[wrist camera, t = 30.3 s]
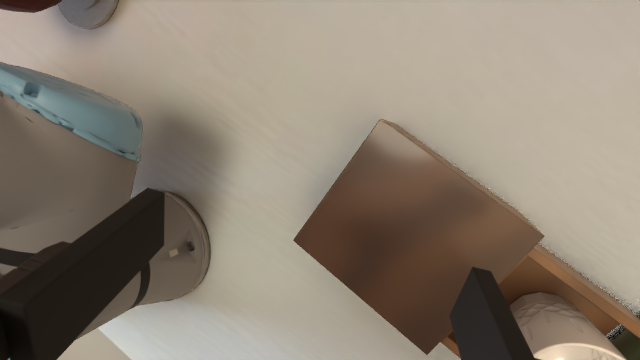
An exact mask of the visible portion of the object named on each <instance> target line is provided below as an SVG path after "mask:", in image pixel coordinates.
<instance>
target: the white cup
mask: <svg viewBox="0 0 640 360" xmlns="http://www.w3.org/2000/svg"><path fill="white" fill-rule="evenodd" d="M509 308H510V310H511V312H512V314H513V316H514V318H515V320H516V322H517V324H518V326H519V328H520V330H521V332H522V334H523V336H524V338H525V340H526V342H527V344H528V346H529V348H530V350H531V352H532V354H533V356H534V358H537V359H541V360H627V359H626V358H625V357H624V356H623V354H622V353H621V352H620V351H619V350H618V349H617V348H616V347H615V346H614V345H613V344H612V343H611V341H610V340H609V339H608V338H607V337H606V336H605V335H604V334H603V333H602V332H601V331H600V330H599V329H598V328H597V327H596V326H595V325H594V324H593V323H592V322H591V321H590V320H589V319H588V318H586V317H585V316H584V315H583V314H582V313H581V312H580V311H579V310H578V309H577V307H576V306H574V305H573V304H571V303H570V302H568V301H566V300H565V299H563V298H562V297H560V296H558V295H553V294H548V293H542V292H538V293H533V294H528V295H523V296H521V297H520V298H519V299H517V300H516V301H514V302H513V303H512V304H510V306H509Z"/></svg>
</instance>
